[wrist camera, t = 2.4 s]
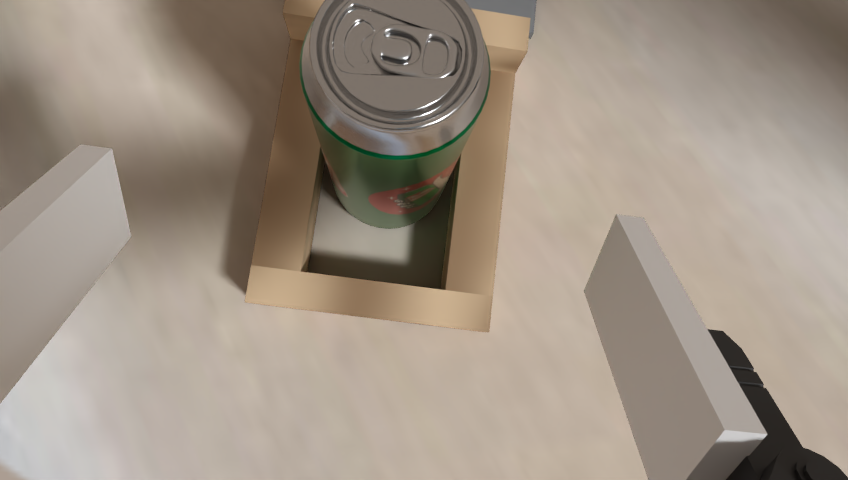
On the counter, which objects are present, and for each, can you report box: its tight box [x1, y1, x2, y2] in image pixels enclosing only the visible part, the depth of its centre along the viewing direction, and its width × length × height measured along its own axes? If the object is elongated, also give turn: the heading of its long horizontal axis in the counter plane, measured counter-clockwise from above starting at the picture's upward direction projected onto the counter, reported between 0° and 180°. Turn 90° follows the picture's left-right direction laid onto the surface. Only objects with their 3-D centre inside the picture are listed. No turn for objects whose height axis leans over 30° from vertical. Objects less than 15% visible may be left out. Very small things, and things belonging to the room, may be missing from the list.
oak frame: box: [245, 0, 531, 332], centre depth 23 cm, size 10×13×4 cm
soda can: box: [299, 0, 491, 229], centre depth 19 cm, size 5×5×12 cm
